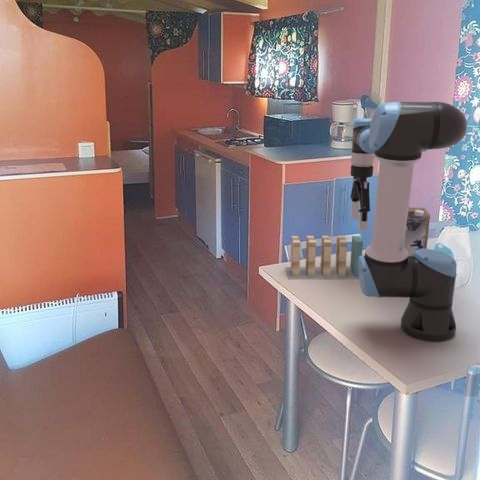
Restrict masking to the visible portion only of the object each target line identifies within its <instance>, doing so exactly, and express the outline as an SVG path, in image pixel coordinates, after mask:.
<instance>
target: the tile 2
mask: <svg viewBox="0 0 480 480" xmlns="http://www.w3.org/2000/svg"><path fill="white" fill-rule="evenodd" d="M305 244H306V247H305V249H306V251H305V267H306V272H307V275H308V277H315V267H316V250H317V249H316V248H317V247H316V246H317V241H316V239H315V237H314V235H306V243H305Z"/></svg>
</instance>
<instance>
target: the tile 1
mask: <svg viewBox="0 0 480 480" xmlns="http://www.w3.org/2000/svg"><path fill="white" fill-rule="evenodd" d="M290 243H291V244H290V245H291V247H290V267H291V273H292V277H299V268H300V267H301V266H300V264H301V261H300V260H301V241H300V237H299V236H298V235H291V242H290Z"/></svg>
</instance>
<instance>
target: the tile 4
mask: <svg viewBox="0 0 480 480" xmlns="http://www.w3.org/2000/svg"><path fill="white" fill-rule="evenodd" d="M335 247H336V248H335V250H336V251H335V265H334V267H335V270H336V272H337V274H338V276H345V273H346V267H347V256H348V255H347V253H348V252H347V251H348V241H347V238H346V237H345V236H344V235H337V236H336V246H335Z"/></svg>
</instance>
